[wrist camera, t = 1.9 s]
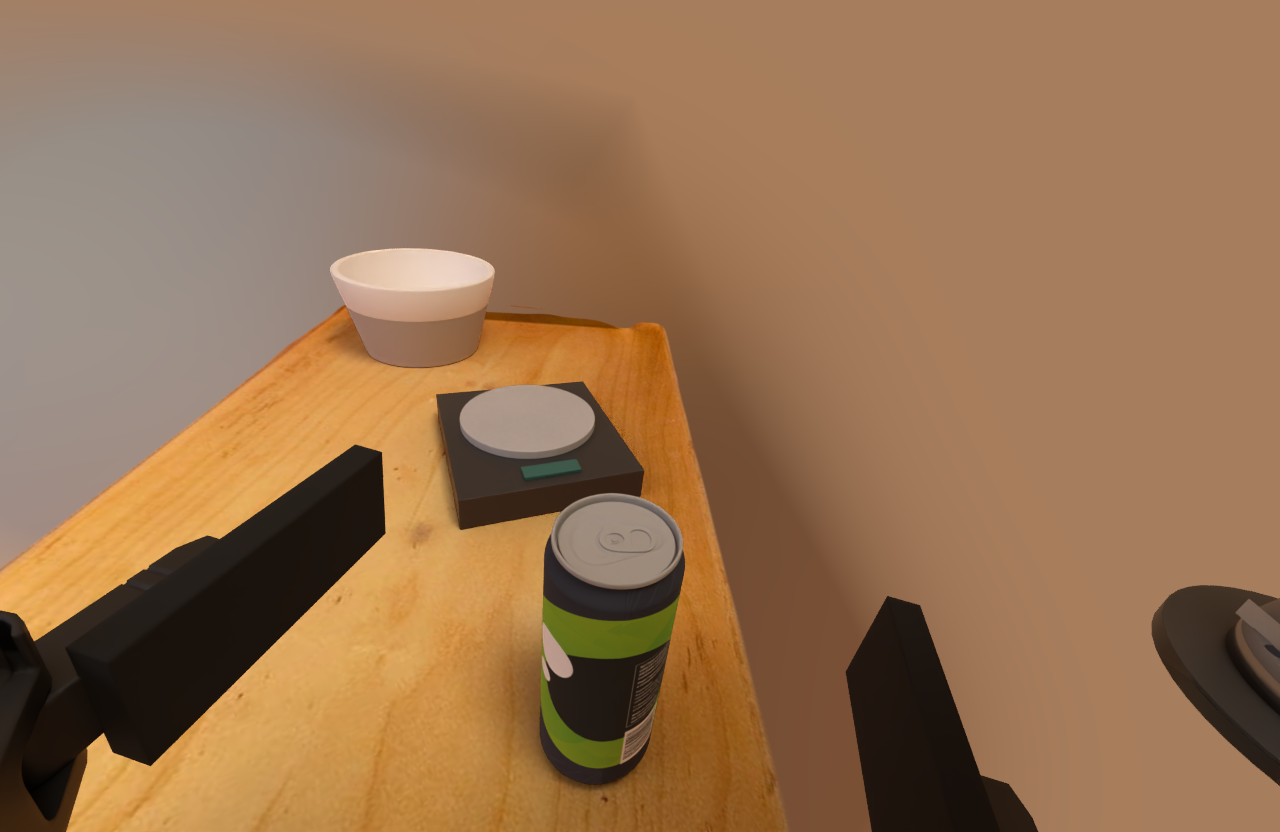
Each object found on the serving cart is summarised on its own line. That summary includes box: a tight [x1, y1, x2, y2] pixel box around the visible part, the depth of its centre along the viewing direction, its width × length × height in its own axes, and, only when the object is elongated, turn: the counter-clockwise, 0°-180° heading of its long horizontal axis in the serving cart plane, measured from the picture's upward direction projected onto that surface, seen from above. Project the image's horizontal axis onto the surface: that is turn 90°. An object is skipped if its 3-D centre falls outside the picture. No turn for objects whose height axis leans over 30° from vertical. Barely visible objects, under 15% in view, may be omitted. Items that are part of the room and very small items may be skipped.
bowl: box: [330, 248, 495, 367], centre depth 70 cm, size 19×19×11 cm
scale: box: [436, 382, 644, 529], centre depth 53 cm, size 16×18×4 cm
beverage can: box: [540, 493, 685, 784], centre depth 27 cm, size 6×6×15 cm
